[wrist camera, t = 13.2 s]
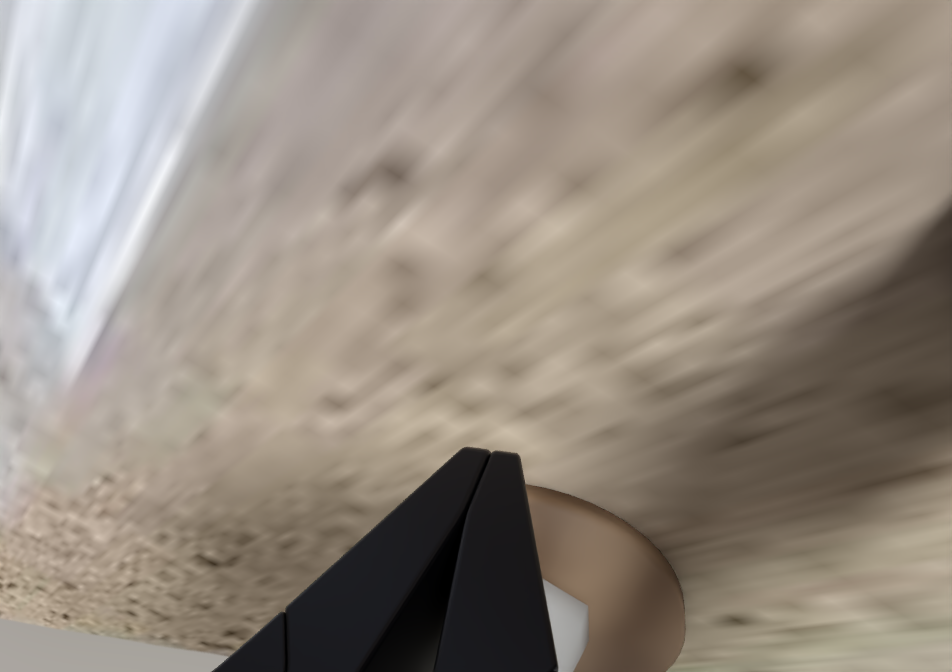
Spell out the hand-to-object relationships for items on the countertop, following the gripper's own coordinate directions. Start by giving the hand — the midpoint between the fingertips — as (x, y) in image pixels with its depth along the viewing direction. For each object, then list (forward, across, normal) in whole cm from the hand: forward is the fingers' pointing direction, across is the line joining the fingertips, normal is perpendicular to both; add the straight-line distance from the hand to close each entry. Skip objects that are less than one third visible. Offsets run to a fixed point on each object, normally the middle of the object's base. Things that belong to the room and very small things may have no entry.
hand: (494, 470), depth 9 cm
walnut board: (+13, +2, +22) cm, 26 cm away
